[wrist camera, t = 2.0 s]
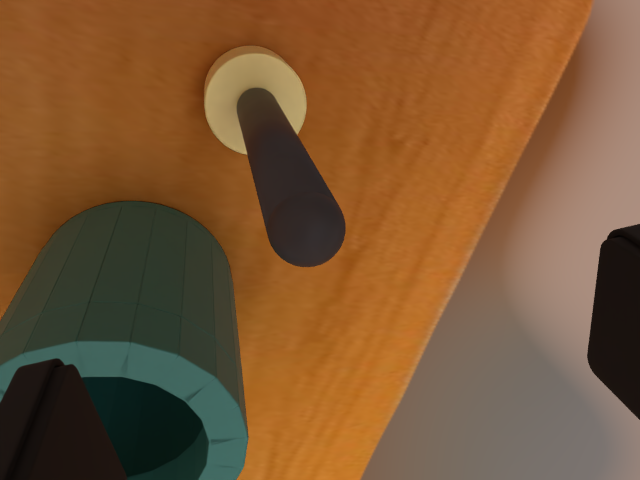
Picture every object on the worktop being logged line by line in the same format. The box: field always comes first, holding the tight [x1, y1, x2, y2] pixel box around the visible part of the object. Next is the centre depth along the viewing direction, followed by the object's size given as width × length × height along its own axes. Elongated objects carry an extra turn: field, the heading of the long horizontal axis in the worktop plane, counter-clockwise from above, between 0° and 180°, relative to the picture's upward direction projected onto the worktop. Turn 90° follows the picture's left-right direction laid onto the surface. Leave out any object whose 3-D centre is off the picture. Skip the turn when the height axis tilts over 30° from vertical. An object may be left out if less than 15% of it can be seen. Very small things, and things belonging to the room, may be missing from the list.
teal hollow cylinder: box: [0, 201, 248, 480], centre depth 26 cm, size 11×11×13 cm
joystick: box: [204, 46, 345, 267], centre depth 20 cm, size 5×5×18 cm
